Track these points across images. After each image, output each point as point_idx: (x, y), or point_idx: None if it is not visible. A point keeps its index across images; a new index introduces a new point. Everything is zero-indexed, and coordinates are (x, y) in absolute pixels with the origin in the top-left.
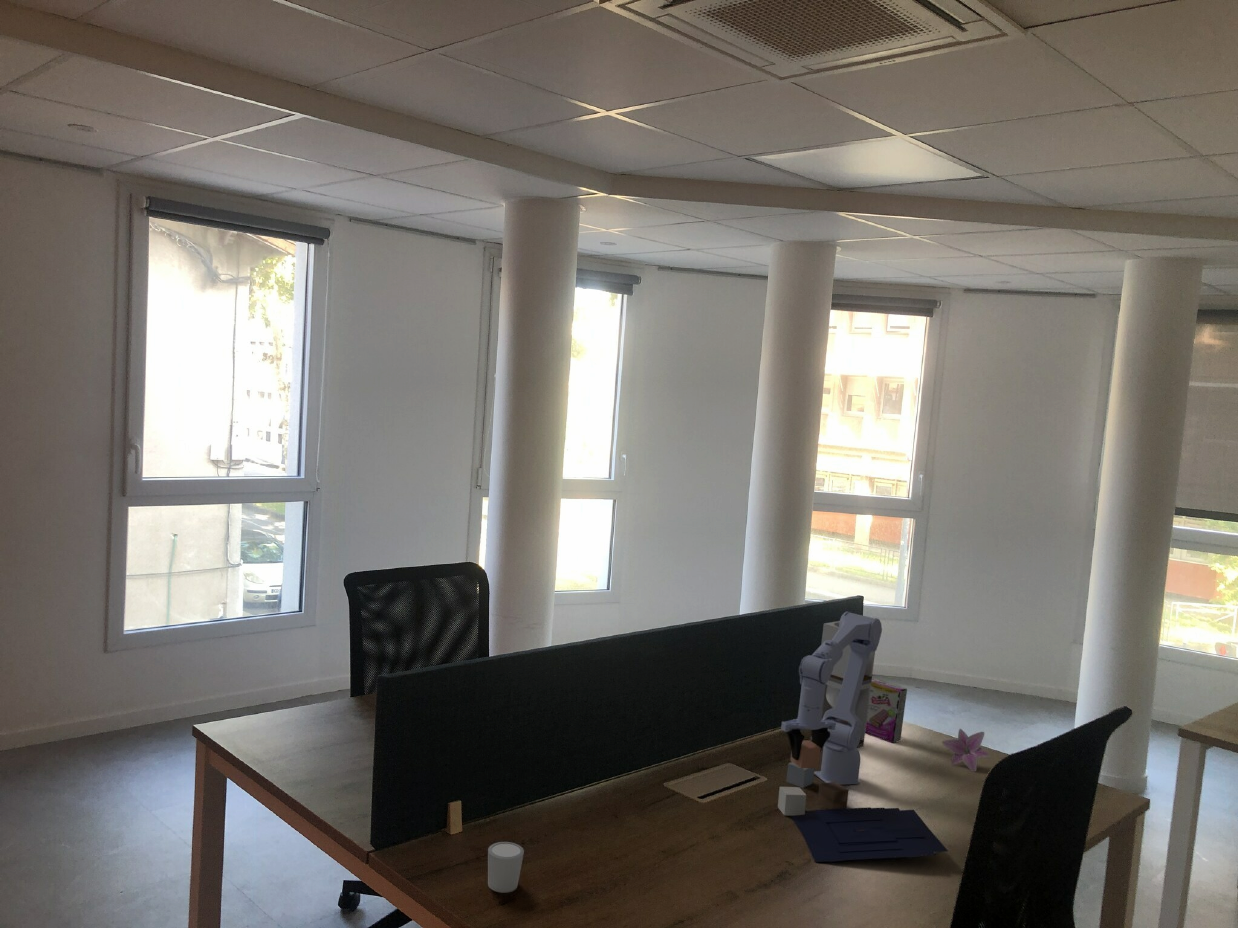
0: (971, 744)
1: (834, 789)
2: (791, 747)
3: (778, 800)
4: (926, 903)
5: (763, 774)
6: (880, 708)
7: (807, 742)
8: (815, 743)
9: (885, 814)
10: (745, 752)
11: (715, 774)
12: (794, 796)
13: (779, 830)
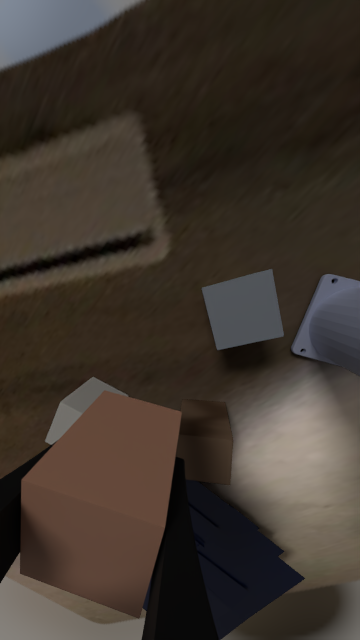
0: None
1: (192, 467)
2: (27, 466)
3: (84, 383)
4: (106, 610)
5: (175, 228)
6: None
7: (115, 538)
8: (155, 579)
9: (233, 540)
10: (248, 35)
11: (53, 184)
12: None
13: (44, 434)
